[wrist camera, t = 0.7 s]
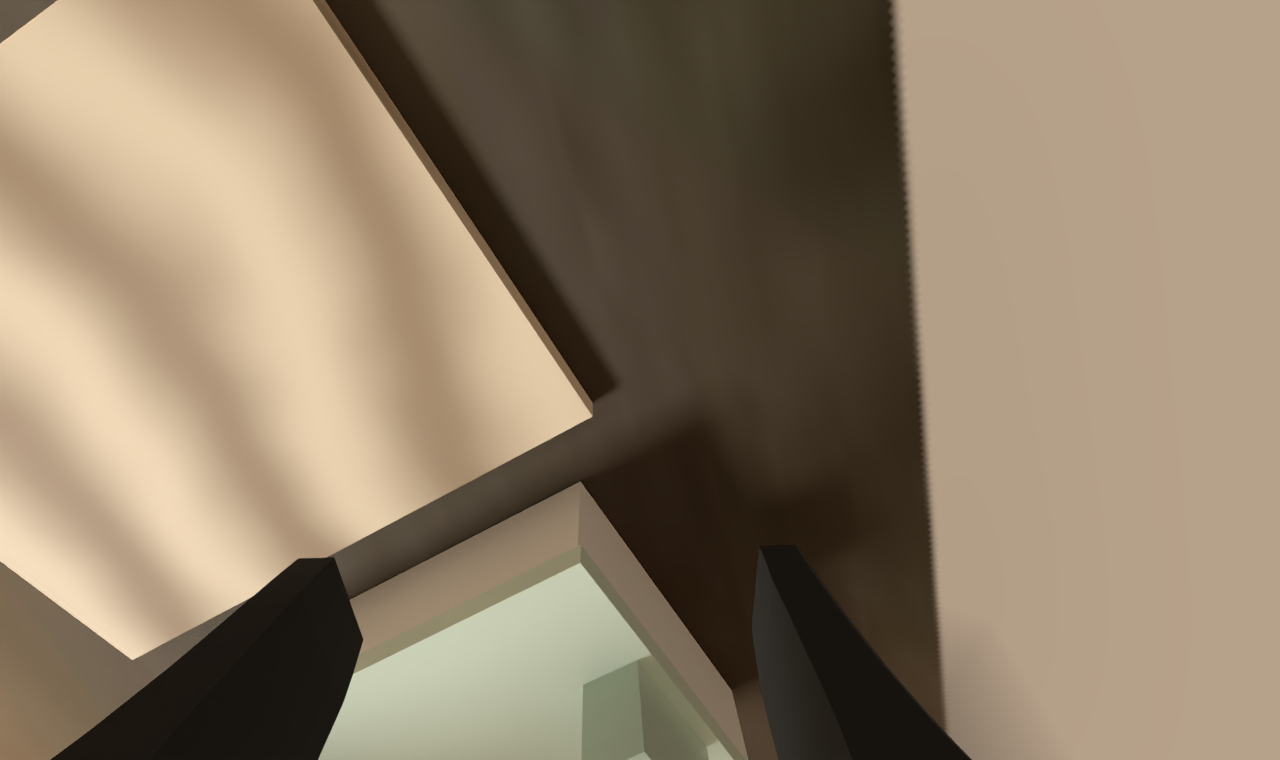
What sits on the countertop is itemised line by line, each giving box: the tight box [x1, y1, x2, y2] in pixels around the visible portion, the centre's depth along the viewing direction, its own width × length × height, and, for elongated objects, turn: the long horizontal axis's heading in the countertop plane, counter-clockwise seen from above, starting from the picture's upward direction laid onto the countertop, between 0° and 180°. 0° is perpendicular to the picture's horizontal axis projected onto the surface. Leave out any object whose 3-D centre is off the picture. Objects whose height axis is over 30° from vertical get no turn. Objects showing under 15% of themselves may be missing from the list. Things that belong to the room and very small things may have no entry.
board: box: [0, 0, 593, 660], centre depth 19 cm, size 20×16×1 cm
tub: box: [350, 481, 748, 760], centre depth 24 cm, size 16×13×4 cm
